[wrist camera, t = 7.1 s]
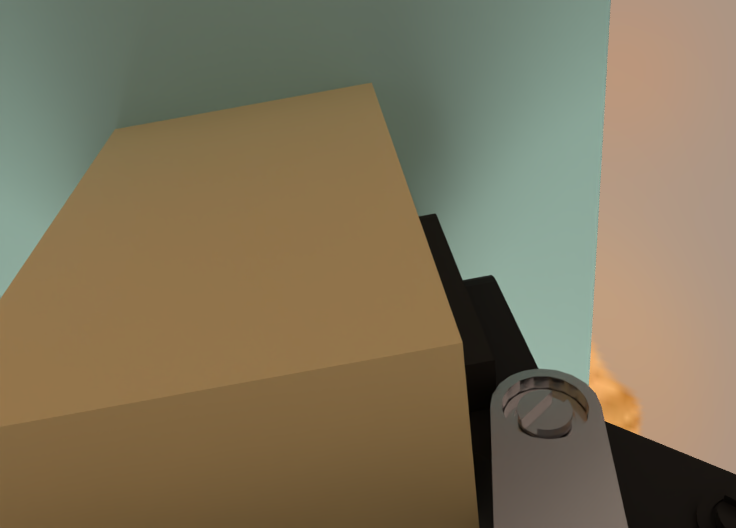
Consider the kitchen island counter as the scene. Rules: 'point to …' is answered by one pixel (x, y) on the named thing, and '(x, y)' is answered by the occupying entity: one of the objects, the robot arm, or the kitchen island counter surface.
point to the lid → (279, 249)
